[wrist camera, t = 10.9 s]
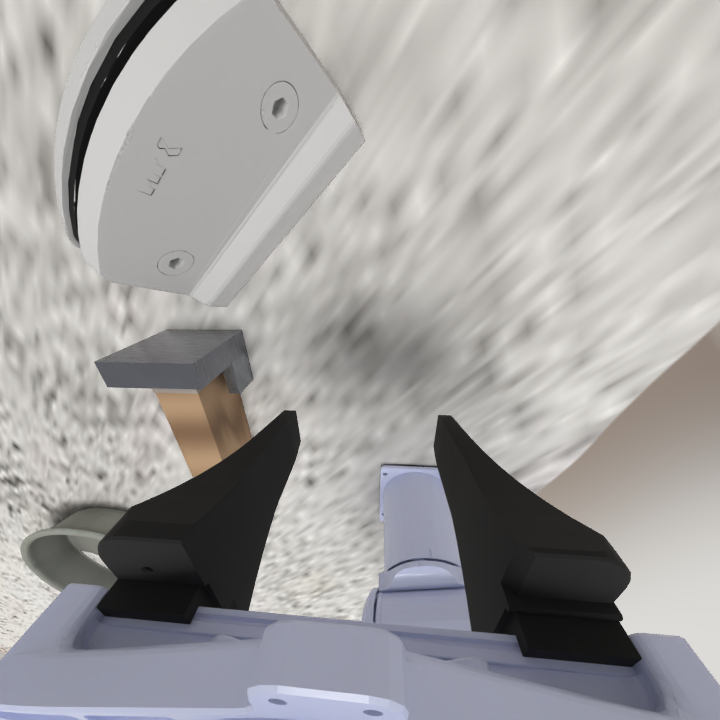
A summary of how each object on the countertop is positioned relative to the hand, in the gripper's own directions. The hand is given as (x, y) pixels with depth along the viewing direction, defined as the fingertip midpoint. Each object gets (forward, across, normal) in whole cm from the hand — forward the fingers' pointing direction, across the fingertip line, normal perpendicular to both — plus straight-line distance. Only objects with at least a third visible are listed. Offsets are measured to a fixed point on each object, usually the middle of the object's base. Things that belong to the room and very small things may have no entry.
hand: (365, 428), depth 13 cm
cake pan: (+11, +38, +36) cm, 53 cm away
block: (+10, +15, +6) cm, 19 cm away
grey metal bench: (+10, +15, +1) cm, 18 cm away
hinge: (+11, +9, -12) cm, 18 cm away
